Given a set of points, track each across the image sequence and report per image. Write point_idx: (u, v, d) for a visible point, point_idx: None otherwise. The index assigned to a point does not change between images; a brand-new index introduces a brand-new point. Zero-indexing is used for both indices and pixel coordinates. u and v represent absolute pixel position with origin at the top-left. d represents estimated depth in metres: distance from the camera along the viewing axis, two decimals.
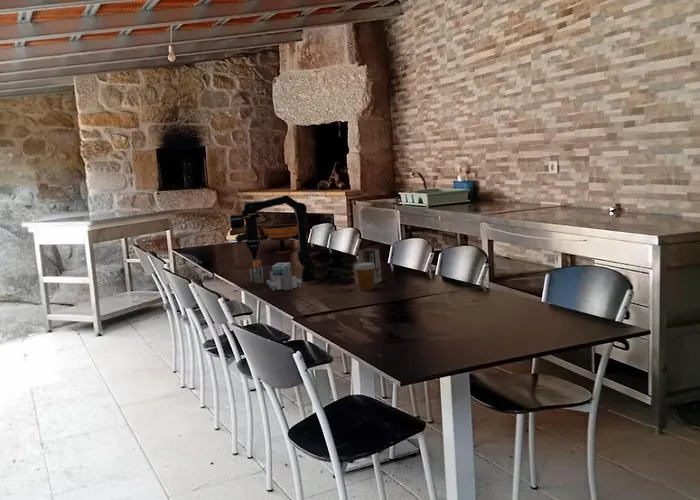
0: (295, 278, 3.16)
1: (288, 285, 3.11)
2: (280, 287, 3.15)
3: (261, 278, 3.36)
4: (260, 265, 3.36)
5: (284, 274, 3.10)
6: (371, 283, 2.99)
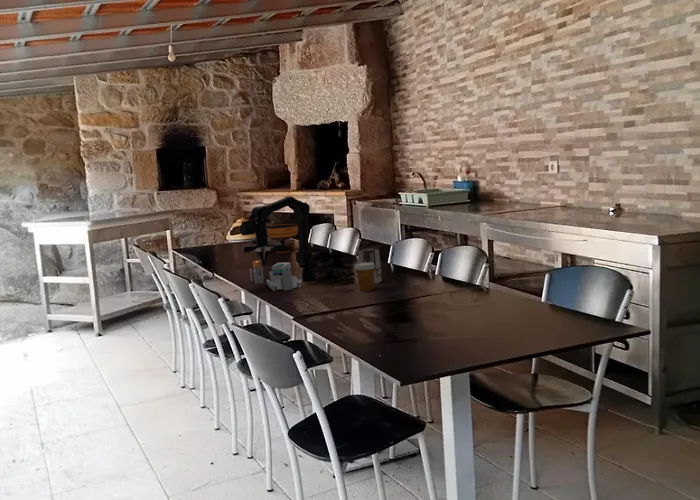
0: (295, 278, 3.16)
1: (288, 285, 3.11)
2: (280, 287, 3.15)
3: (261, 278, 3.36)
4: (260, 265, 3.36)
5: (284, 274, 3.10)
6: (371, 283, 2.99)
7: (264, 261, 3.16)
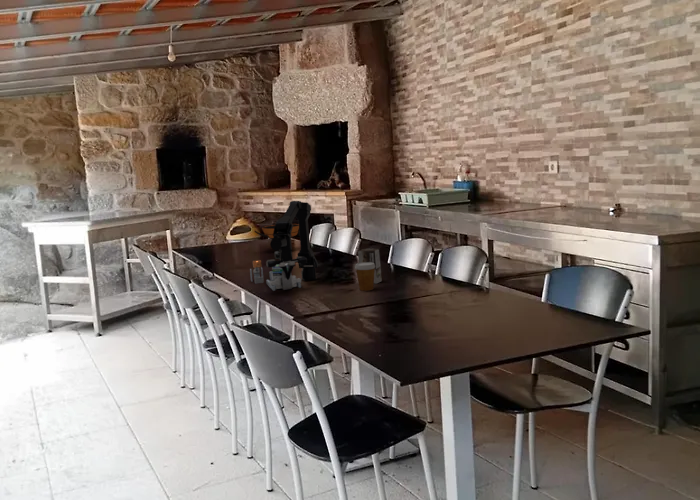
0: (294, 277, 3.18)
1: (288, 284, 3.13)
2: (279, 286, 3.16)
3: (261, 278, 3.36)
4: (260, 265, 3.36)
5: (283, 273, 3.12)
6: (371, 283, 2.99)
7: (288, 276, 3.09)
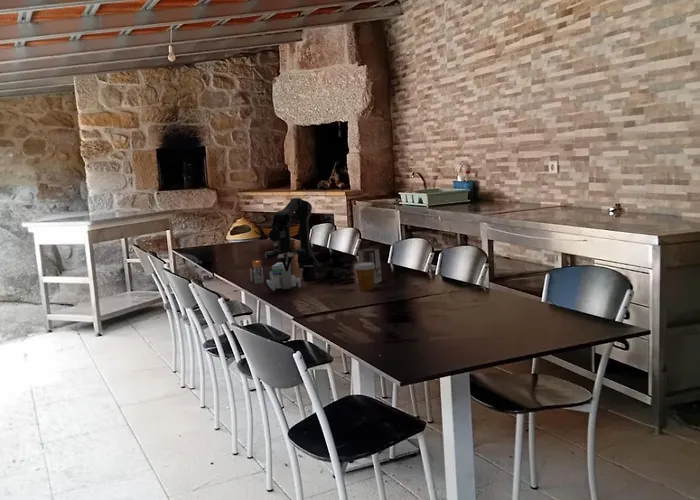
0: (294, 277, 3.19)
1: (287, 284, 3.14)
2: (279, 286, 3.17)
3: (261, 278, 3.36)
4: (260, 265, 3.36)
5: (283, 273, 3.13)
6: (371, 283, 2.99)
7: (287, 267, 3.09)
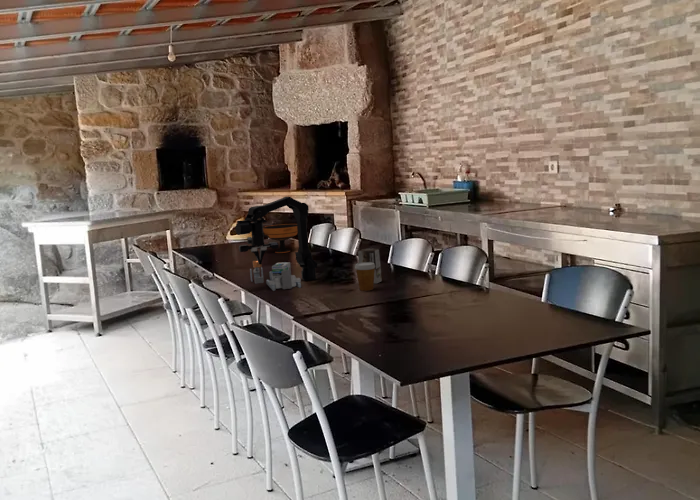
0: (294, 277, 3.19)
1: (287, 284, 3.14)
2: (279, 286, 3.17)
3: (261, 278, 3.36)
4: (260, 265, 3.36)
5: (283, 273, 3.13)
6: (371, 283, 2.99)
7: (260, 260, 3.18)
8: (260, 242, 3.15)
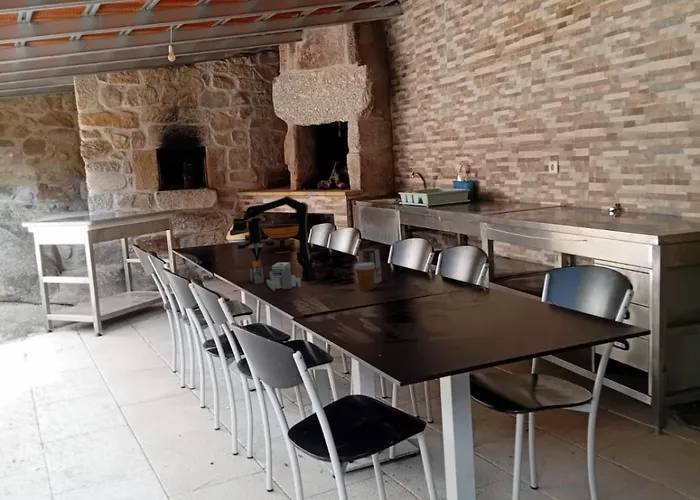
0: (294, 277, 3.19)
1: (287, 284, 3.14)
2: (279, 286, 3.17)
3: (261, 278, 3.36)
4: (260, 265, 3.36)
5: (283, 273, 3.13)
6: (371, 283, 2.99)
7: (257, 257, 3.35)
8: (257, 239, 3.33)
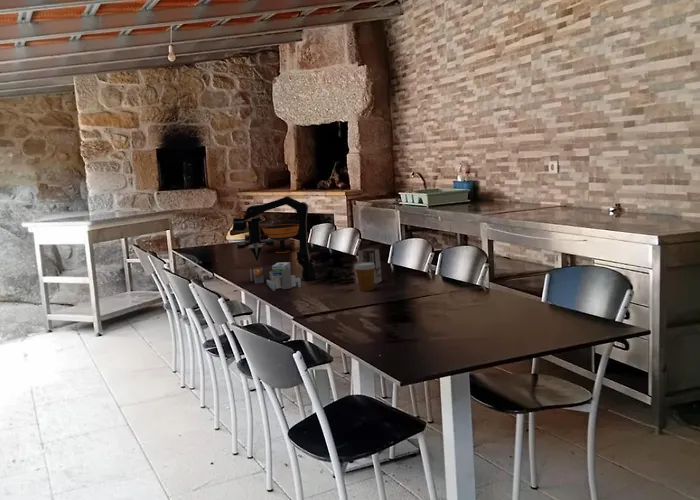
0: (294, 277, 3.19)
1: (287, 284, 3.14)
2: (279, 286, 3.17)
3: (261, 278, 3.36)
4: (261, 275, 3.36)
5: (283, 273, 3.13)
6: (371, 283, 2.99)
7: (257, 257, 3.35)
8: (256, 239, 3.32)
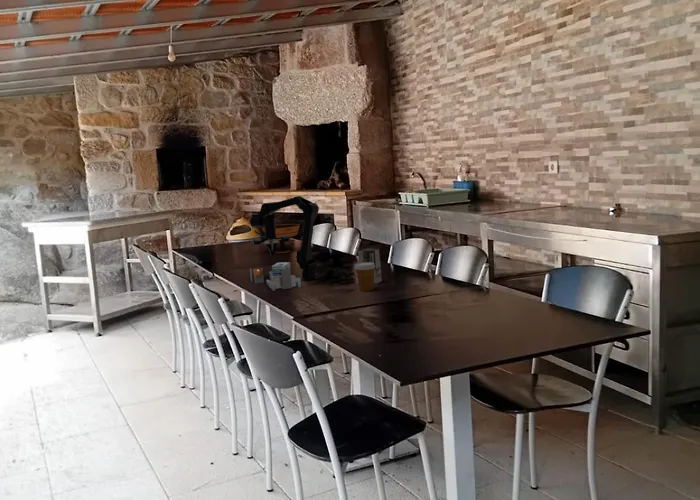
0: (294, 277, 3.19)
1: (287, 284, 3.14)
2: (279, 286, 3.17)
3: (261, 278, 3.36)
4: (261, 275, 3.36)
5: (283, 273, 3.13)
6: (371, 283, 2.99)
7: (272, 252, 3.43)
8: (272, 235, 3.40)
